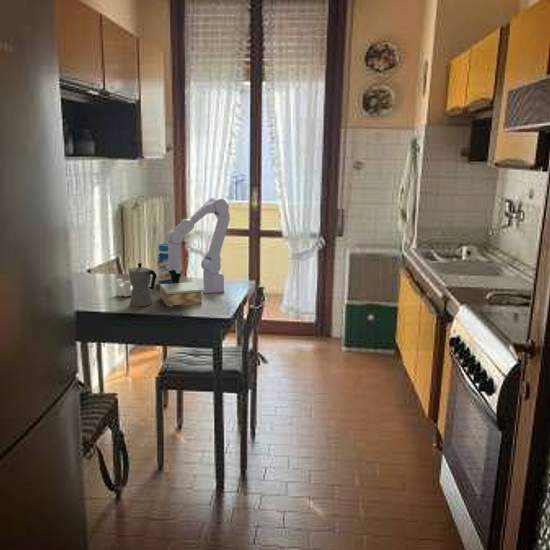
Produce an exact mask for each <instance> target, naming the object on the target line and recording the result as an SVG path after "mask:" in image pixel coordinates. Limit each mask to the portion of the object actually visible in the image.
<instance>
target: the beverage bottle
mask: <svg viewBox="0 0 550 550" xmlns="http://www.w3.org/2000/svg"><path fill="white" fill-rule="evenodd" d="M158 252H159V253H158V255H157V263H156V264H157V275H158V277H157V278H158V280H157V283H158V285H160V284H169V283H172V280H171V276H170V274H169V272H168V271H169V270H172V269H169V268H168V269H167V268H166V266H169V258H168V243H160V244H158Z"/></svg>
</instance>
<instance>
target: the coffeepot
mask: <svg viewBox="0 0 550 550" xmlns="http://www.w3.org/2000/svg"><path fill="white" fill-rule="evenodd" d="M137 265H138V267H137V266H136V267H132V268H128V269H127V271H128V274H129V281H130V286H133V290H132V293H131V296H130V302H129V304H130V305H131V306H132V307H136V306H143V307H148V306H147V305H149V306H151V305H152V304H153V299H152V295H151V290H154V286H155V284H156V280H157V275H158V274H157V273H156V271H154V269H153V270H152V269H150V268H148V267H143V263H141V262H139V263H137ZM151 276H152V278H151ZM148 286H150V287H148ZM148 288H149V289H150V290H149V289H148ZM150 304H151V305H150Z"/></svg>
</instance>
